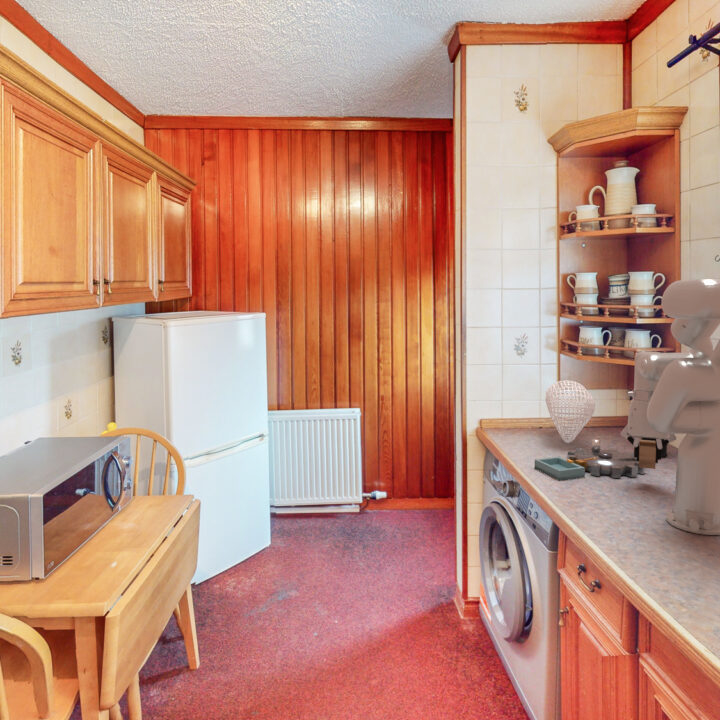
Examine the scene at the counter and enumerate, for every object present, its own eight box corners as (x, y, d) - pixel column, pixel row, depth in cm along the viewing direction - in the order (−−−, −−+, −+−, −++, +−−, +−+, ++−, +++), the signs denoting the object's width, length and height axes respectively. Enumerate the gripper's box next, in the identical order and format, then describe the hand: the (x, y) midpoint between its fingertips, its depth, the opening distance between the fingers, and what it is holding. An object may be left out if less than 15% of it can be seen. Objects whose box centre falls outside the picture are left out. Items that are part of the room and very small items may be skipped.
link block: (655, 469, 150) (656, 446, 149) (638, 467, 151) (639, 445, 150) (654, 461, 156) (655, 439, 155) (638, 459, 158) (639, 438, 157)
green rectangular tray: (584, 477, 163) (585, 465, 162) (559, 480, 160) (559, 469, 160) (558, 465, 174) (558, 454, 174) (534, 468, 172) (534, 457, 171)
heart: (543, 432, 217) (544, 377, 215) (584, 434, 213) (587, 378, 211) (548, 451, 190) (550, 388, 188) (596, 454, 186) (598, 390, 184)
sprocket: (661, 471, 166) (662, 450, 165) (606, 482, 158) (606, 459, 157) (603, 452, 187) (604, 433, 186) (551, 460, 178) (552, 441, 178)
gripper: (615, 396, 151) (613, 461, 153) (685, 399, 144) (682, 468, 145) (616, 393, 158) (614, 455, 159) (683, 396, 150) (680, 461, 152)
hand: (647, 460), depth 152 cm, fingers closed on link block, 3 cm apart
